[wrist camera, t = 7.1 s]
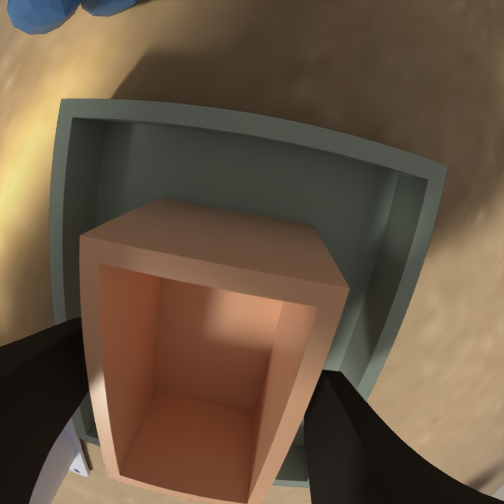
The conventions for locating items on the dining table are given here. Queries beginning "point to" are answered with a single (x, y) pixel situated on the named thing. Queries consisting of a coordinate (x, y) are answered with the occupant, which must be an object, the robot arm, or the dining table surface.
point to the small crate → (204, 344)
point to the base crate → (251, 210)
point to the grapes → (58, 12)
